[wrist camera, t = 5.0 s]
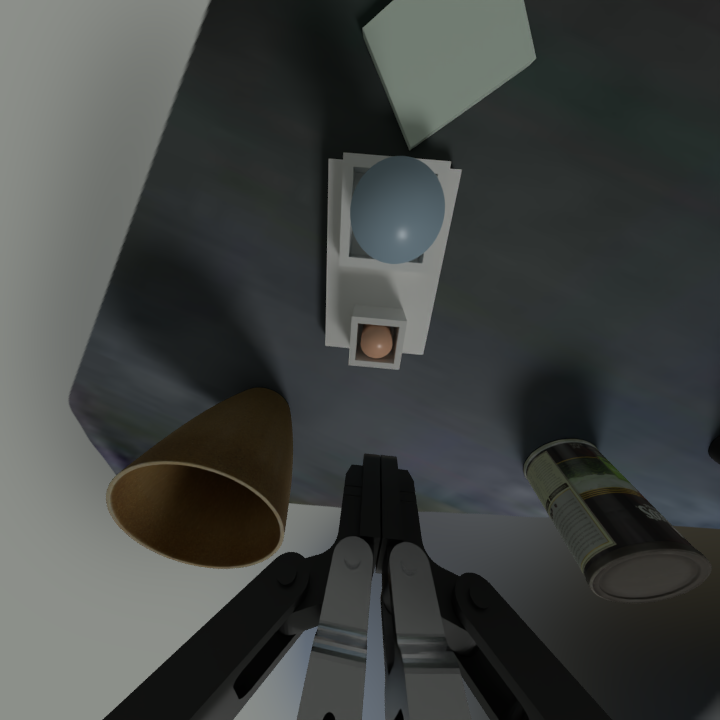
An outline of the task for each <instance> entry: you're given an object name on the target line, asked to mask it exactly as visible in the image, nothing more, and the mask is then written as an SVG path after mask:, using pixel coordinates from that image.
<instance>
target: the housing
mask: <svg viewBox="0 0 720 720" xmlns="http://www.w3.org/2000/svg"><path fill="white" fill-rule="evenodd" d="M389 157H392V156H380V155H368V154H356V153H344V152H343V160H340V159H329V170H328V226H327V282H326V339H325V346H334V347H344V348H350V351H349V365H354V366H364V367H375V368H386V369H396V370H399V367H400V361H401V355H402V353H409V354H420V355H423V352H424V348H425V343H426V338H427V333H428V329H429V324H430V319H431V314H432V309H433V305H434V300H435V295H436V290H437V286H438V281H439V276H440V271H441V267H442V262H443V257H444V252H445V247H446V243H447V238H448V233H449V228H450V224H451V219H452V214H453V209H454V205H455V200H456V195H457V190H458V186H459V181H460V176H461V171H462V170H460V169H450V166H451V161H440V160H428V159H418V160H420V161H421V162H423V163H424V164H426V165H427V166H428V167H429V168H430V169H431V170H432V171H433V172H434V173H435V175H436V176H437V178H438V180H439V182H440V184H441V186H442V189H443V193H444V199H445V214H444V220H443V224H442V227H441V229H440V232H439V234H438V236H437V238H436V239H435V241H434V242H433V244H432V245H431V246H430V247H429V249H427V250H426V251H425V252H424V253H423V254H422V255H420V256H419V257H417V258H415V259H414V260H411V261H409V262H405V263H401V264H388V263H384V262H380V261H378V260H376V259H374V258H372V257H371V256H369V255H368V254H367V253H366V252H365V251H364V250H363V249H362V248H361V246H360V245H359V243H358V242H357V240H356V238H355V236H354V233H353V230H352V226H351V220H350V207H351V201H352V196H353V193H354V191H355V188H356V186H357V184H358V182H359V181H360V179H361V178H362V176H363V175H364V174H365V173H366V171H367V170H369V169H370V168H371V167H372V166H373V165H375V164H376V163H378V162H379V161H381V160H383V159H386V158H389ZM415 159H416V158H415ZM364 324H372V325H382V326H390V329H391V336H392V349H391V351H390V352H389V353H388V354H387V355H386V356H384V357H381V358H372V357H369V356H367V355H366V354H365V353H364V352H363V351H362V348H361V336H362V329H363V325H364Z"/></svg>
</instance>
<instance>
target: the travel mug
mask: <svg viewBox="0 0 720 720" xmlns="http://www.w3.org/2000/svg"><path fill="white" fill-rule="evenodd" d="M709 455H710V457H711V458H712V459H713V460H714V461H716V462H717V463H718V464H720V436H719V437H717V438H716V439H715V440H714V441H713V443H712V444H711V446H710V448H709Z"/></svg>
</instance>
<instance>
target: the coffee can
mask: <svg viewBox="0 0 720 720" xmlns="http://www.w3.org/2000/svg"><path fill="white" fill-rule="evenodd" d="M524 475H525V477H526V479H527V480H528V481H529V483H530V484H531V486H532V488H533V489H534V491H535V493H536V494H537V496H538V498H539V499H540V501H541V503H542V504H543V506H544V508H545V509H546V511H547V513H548V515H549V516H550V518H551V520H552V521H553V523H554V525H555V526H556V528H557V530H558V531H559V533H560V535H561V536H562V538H563V540H564V542H565V543H566V545H567V547H568V548H569V550H570V552H571V554H572V555H573V557H574V558H575V560H576V562H577V564H578V565H579V567H580V569H581V571H582V572H583V574H584V575H585V577H586V581H587V583H588V585H589V587H590V589H591V590H592V591H593V592H594V593H595V594H596V595H597V596H599V597H601V598H604V599H606V600H610V601H615V602H622V603H646V602H655V601H660V600H665V599H669V598H672V597H676V596H679V595H681V594H684V593H686V592H688V591H690V590H692V589H694V588H696V587H697V586H699V585H700V584H701V583H703V582H704V580H706V578H707V577H708V576H709V574H710V572H711V564H710V562H709V561H708V559H707V558H706V557H705V556H704V555H703V554H702V553H701V552H699V551H698V550H696V549H695V548H694V547H693V546H692V545H691V544H690V543H689V542H688V541H687V540H686V539H685V538H684V537H683V536H682V535H681V534H680V533H679V532H678V531H677V530H676V529H675V528H674V527H673V526H672V525H671V524H670V523H669V522H668V521H667V520H666V519H665V518H664V517H663V516H662V515H661V514H660V513H659V512H658V511H657V510H656V509H655V508H654V507H653V506H652V505H651V504H650V503H649V502H648V501H647V500H646V499H645V498H644V497H643V496H642V495H641V494H640V493H639V491H638V490H637V489H636V488H635V487H633V486H632V485H631V483H630V482H629V481H628V480H627V479H626V478H625V477H624V476H623V475H622V474H621V473H620V472H619V471H618V470H617V469H616V468H615V467H614V466H613V465H612V464H611V463H610V462H609V461H608V460H607V459H606V458H605V457H604V456H603V455H602V454H601V453H600V452H599V451H598V449H597V448H596V447H595V446H594V445H593V444H591V443H589V442H587V441H584V440H580V439H562V440H556V441H553V442H550V443H547V444H545V445H543V446H541V447H539V448H538V449H537V450H535V451H534V452H533V453H532V454H531V455H530V456H529V457H528V458H527V460H526V462H525V464H524Z"/></svg>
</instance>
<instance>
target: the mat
mask: <svg viewBox="0 0 720 720" xmlns="http://www.w3.org/2000/svg"><path fill="white" fill-rule="evenodd" d="M362 29H363V38H364V41H365V43H366V46H367V48H368V50H369V53H370V55H371V58H372V60H373V63H374V65H375V68H376V70H377V73H378V75H379V77H380V80H381V82H382V85H383V87H384V90H385V92H386V95H387V97H388V99H389V102H390V104H391V107H392V109H393V112H394V114H395V117H396V119H397V122H398V124H399V126H400V129H401V131H402V134H403V136H404V139H405V141H406V144H407V146H408V149H409V151H410V150H411V149H413V148H414V147H416V146H417V145H418V144H420V143H421V142H423V141H424V140H425V139H427V138H428V137H430V136H431V135H432V134H434V133H435V132H437V131H438V130H439V129H441V128H442V127H444V126H445V125H446V124H448V123H449V122H451V121H452V120H453V119H455V118H456V117H458V116H459V115H460V114H462V113H463V112H465V111H466V110H468V109H469V108H470V107H472V106H473V105H475V104H476V103H477V102H479V101H480V100H482V99H483V98H484V97H486V96H487V95H489V94H490V93H491V92H493V91H494V90H496V89H497V88H498V87H500V86H501V85H503V84H504V83H505V82H507V81H508V80H510V79H511V78H512V77H514V76H515V75H517V74H518V73H519V72H521V71H522V70H524V69H525V68H526V67H528V66H529V65H530V64H531V63H532V62H533V61H534V60H535V59H536V55H535V51H534V46H533V41H532V37H531V32H530V27H529V23H528V18H527V14H526V9H525V4H524V0H393V1H392V2H391V3H390V4H389V5H388V6H386V7H385V8H384V9H383V10H382V11H381V12H380V13H379V14H378V15H376V16H375V17H374V18H373V19H372V20H371V21H370V22H369V23H368V24H367V25H365V26H364V27H363V28H362Z"/></svg>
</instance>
